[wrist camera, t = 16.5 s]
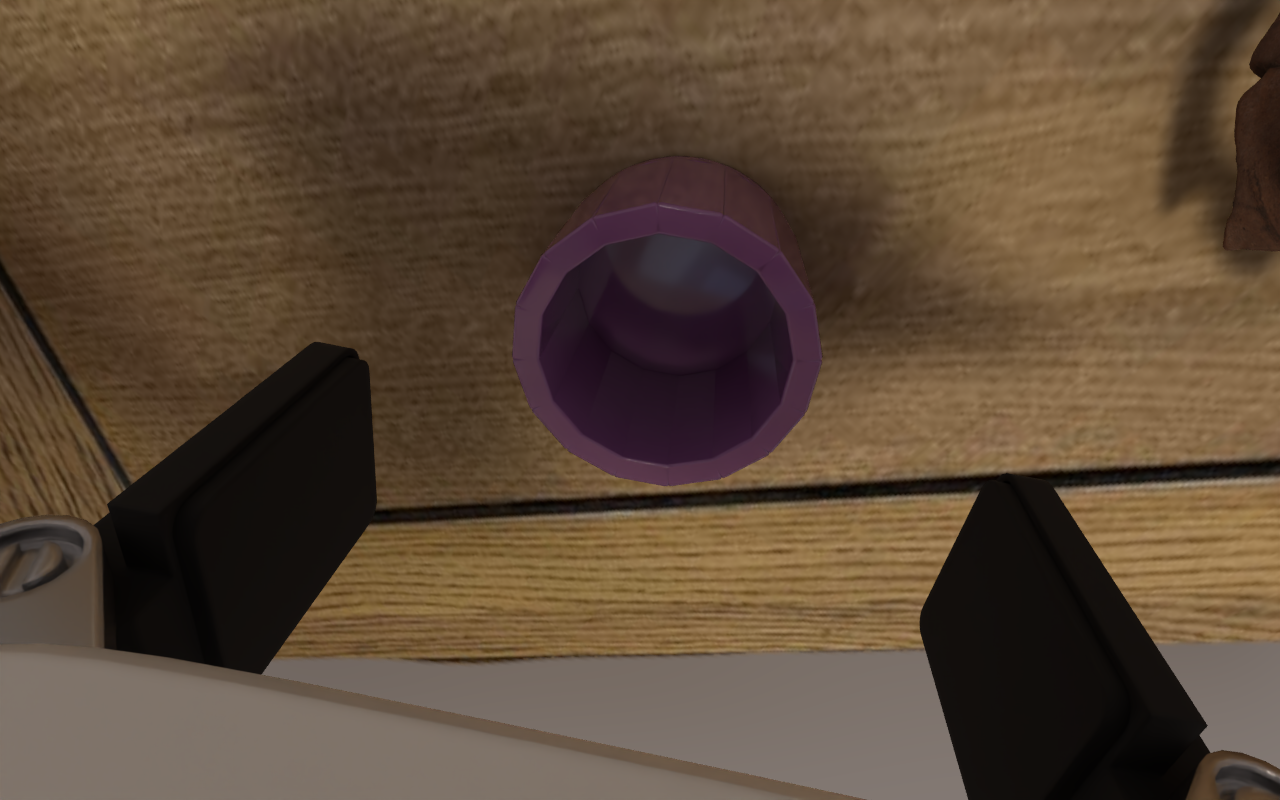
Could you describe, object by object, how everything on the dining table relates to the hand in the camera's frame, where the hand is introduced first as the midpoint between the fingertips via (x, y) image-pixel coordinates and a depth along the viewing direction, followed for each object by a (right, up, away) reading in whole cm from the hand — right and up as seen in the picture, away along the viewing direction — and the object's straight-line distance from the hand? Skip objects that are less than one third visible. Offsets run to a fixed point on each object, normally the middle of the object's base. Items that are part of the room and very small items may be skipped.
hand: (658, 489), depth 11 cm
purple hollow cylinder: (+1, +5, +8) cm, 9 cm away
